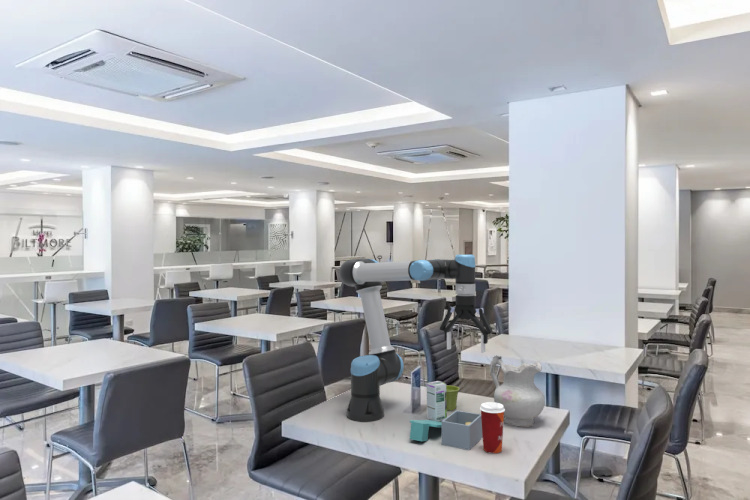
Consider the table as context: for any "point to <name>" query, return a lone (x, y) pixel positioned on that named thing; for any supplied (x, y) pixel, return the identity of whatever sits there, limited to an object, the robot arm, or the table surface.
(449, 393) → the plant pot
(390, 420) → the table surface
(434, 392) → the syrup box
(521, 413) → the ceramic pitcher
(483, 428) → the coffee cup
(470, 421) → the parts tub
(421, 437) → the snap lid
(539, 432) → the table surface
